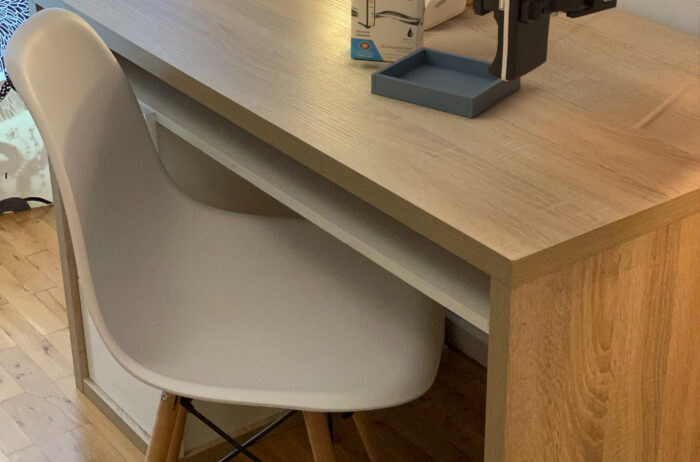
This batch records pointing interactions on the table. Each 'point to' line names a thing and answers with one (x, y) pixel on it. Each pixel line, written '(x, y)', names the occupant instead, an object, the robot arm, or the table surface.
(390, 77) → the tray
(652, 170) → the table surface
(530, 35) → the battery charger
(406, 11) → the ink box
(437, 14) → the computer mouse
